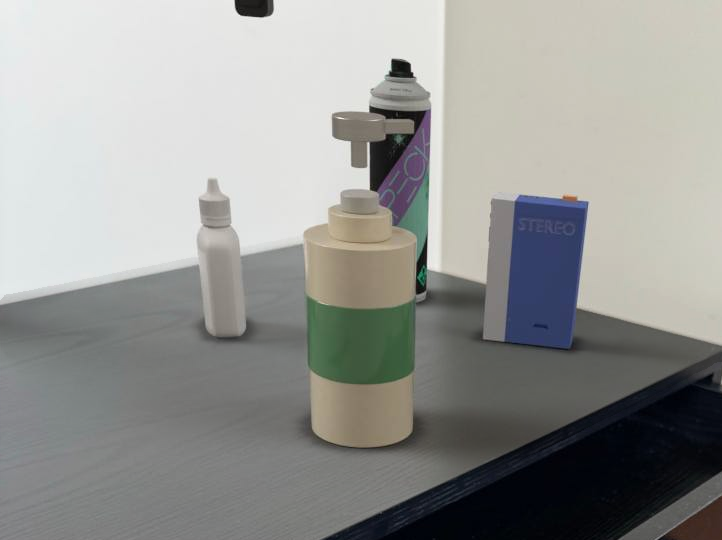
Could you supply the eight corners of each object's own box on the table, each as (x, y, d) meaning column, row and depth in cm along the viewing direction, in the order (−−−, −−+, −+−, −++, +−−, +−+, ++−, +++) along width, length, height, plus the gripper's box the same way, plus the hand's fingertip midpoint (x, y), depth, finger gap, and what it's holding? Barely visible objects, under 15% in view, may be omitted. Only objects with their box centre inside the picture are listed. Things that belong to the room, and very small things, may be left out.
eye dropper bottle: (187, 334, 83) (169, 181, 76) (218, 315, 87) (204, 169, 80) (234, 342, 82) (221, 188, 75) (263, 322, 86) (253, 175, 79)
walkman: (572, 339, 87) (589, 196, 80) (569, 349, 85) (586, 203, 78) (487, 329, 88) (496, 187, 81) (481, 339, 86) (490, 193, 79)
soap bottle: (327, 453, 65) (318, 208, 56) (299, 412, 71) (287, 181, 62) (428, 441, 68) (435, 204, 59) (393, 402, 73) (395, 179, 64)
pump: (341, 172, 58) (340, 119, 56) (326, 161, 60) (325, 111, 58) (420, 171, 60) (421, 119, 58) (402, 160, 62) (403, 111, 60)
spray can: (359, 292, 95) (356, 56, 84) (403, 284, 98) (406, 55, 87) (393, 307, 92) (395, 63, 80) (437, 298, 95) (445, 62, 83)
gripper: (206, -328, 60) (230, 6, 70) (119, -389, 49) (162, 17, 59) (326, -320, 59) (333, 15, 69) (265, -380, 49) (283, 27, 59)
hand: (254, 15), depth 64 cm, fingers closed
